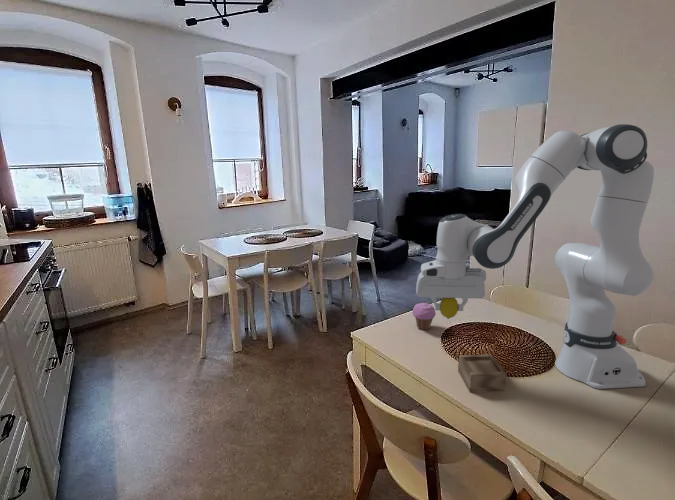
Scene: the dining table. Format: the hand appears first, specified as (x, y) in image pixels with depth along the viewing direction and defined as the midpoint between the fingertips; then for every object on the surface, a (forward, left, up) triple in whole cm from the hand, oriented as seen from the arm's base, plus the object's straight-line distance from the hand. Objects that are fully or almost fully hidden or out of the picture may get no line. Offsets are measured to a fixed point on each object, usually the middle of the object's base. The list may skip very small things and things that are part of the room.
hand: (448, 309), depth 112 cm
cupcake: (+5, -24, -19) cm, 31 cm away
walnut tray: (-9, +9, -19) cm, 23 cm away
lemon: (0, 0, -3) cm, 3 cm away
